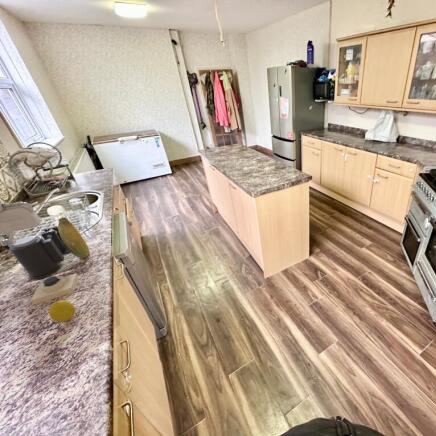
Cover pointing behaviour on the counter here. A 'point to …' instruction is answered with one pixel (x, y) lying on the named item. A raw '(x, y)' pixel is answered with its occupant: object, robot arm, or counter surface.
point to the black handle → (55, 239)
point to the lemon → (62, 311)
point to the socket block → (55, 289)
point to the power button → (51, 281)
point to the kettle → (37, 256)
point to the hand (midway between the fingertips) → (9, 244)
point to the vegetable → (72, 238)
